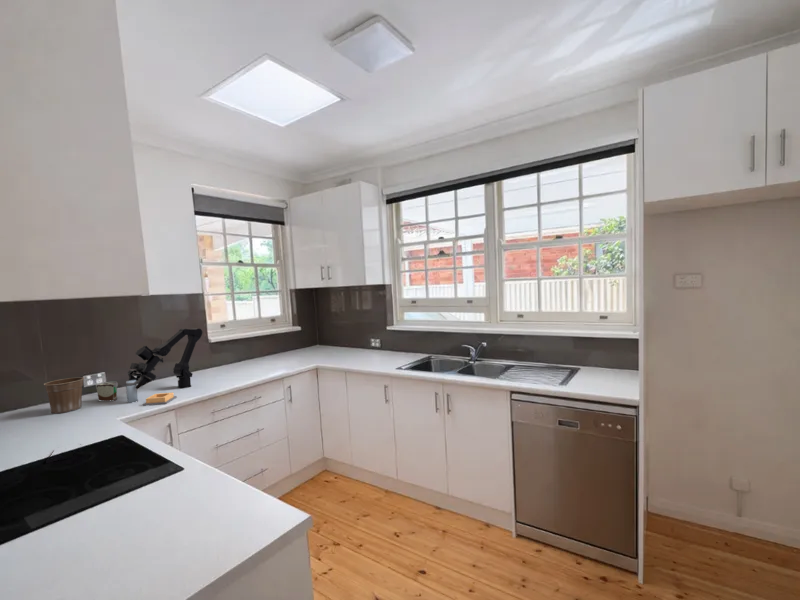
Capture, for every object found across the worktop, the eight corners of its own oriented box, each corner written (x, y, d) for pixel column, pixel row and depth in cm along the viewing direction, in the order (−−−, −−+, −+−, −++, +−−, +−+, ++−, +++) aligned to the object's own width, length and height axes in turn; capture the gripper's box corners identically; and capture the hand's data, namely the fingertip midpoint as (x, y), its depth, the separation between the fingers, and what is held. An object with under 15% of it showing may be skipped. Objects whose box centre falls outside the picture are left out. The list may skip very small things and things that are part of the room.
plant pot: (52, 408, 203) (50, 379, 202) (90, 403, 210) (87, 375, 210) (40, 417, 189) (38, 386, 188) (81, 411, 196) (78, 381, 195)
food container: (124, 397, 219) (123, 381, 219) (115, 400, 213) (114, 383, 213) (105, 397, 221) (104, 381, 220) (96, 401, 215) (95, 384, 214)
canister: (137, 399, 213) (136, 379, 213) (138, 401, 210) (136, 380, 209) (127, 401, 210) (125, 381, 210) (127, 403, 207) (126, 382, 206)
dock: (154, 399, 213) (154, 393, 213) (176, 397, 214) (176, 391, 214) (142, 405, 201) (142, 399, 201) (166, 404, 202) (166, 397, 202)
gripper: (129, 356, 218) (110, 379, 208) (149, 357, 210) (129, 381, 200) (144, 366, 225) (126, 389, 215) (164, 368, 217) (145, 392, 208)
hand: (131, 387), depth 210 cm, fingers open, 9 cm apart
